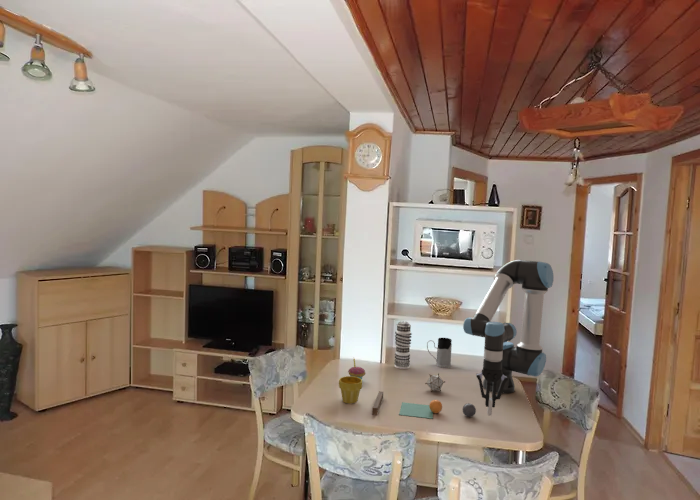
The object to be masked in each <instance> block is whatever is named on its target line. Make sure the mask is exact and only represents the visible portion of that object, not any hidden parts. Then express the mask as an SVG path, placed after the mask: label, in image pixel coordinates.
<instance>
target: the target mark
mask: <svg viewBox="0 0 700 500" xmlns="http://www.w3.org/2000/svg"><path fill="white" fill-rule="evenodd" d="M400 405H401V406H400V409H399V412H398V415H399V416H404V417H405V416H406V417H412V418H422V419H429V420H431V419H432V420H433V418H434V413H433V412H432V411H431V410H430V408H429V404H422V403H421V404H419V403H414V402H413V403H412V402H404V401H402V402H401V404H400Z"/></svg>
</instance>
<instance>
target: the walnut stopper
mask: <svg viewBox="0 0 700 500" xmlns="http://www.w3.org/2000/svg"><path fill="white" fill-rule="evenodd" d="M383 399H384V391H382V390H381V391H379V390H378V393H377V396H376V399H375V400H374V403H373V406H372V410H371V414H372V416H378V413H379V410H380V408H381V405H382V402H383Z"/></svg>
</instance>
